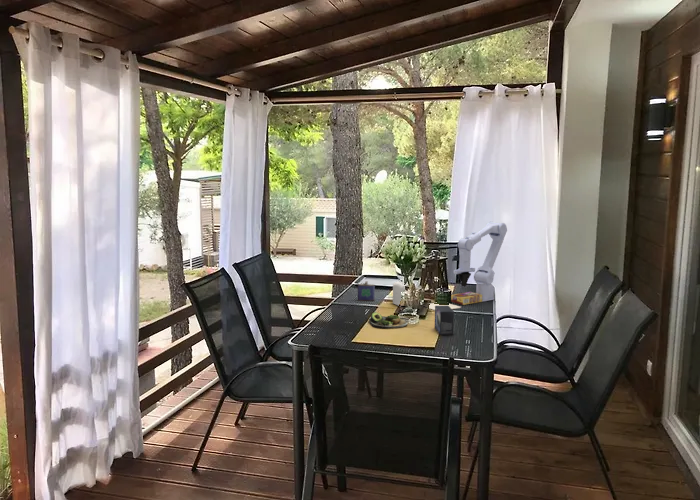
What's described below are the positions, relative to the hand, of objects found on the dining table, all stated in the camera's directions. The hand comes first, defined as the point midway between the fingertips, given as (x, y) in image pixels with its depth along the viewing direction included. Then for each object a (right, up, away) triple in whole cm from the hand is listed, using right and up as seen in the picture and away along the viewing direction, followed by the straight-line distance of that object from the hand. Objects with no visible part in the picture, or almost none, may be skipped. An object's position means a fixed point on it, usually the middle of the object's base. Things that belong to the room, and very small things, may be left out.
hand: (463, 286), depth 291 cm
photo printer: (-35, -10, -6) cm, 37 cm away
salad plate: (-44, -15, -41) cm, 62 cm away
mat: (-14, -10, -8) cm, 19 cm away
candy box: (-4, -8, -1) cm, 9 cm away
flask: (-53, -8, +4) cm, 53 cm away
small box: (-20, -17, -52) cm, 58 cm away
